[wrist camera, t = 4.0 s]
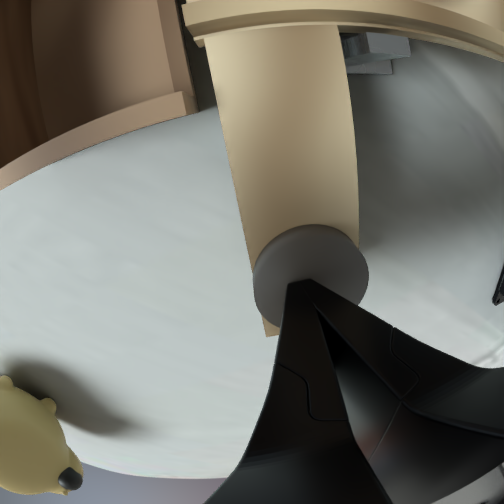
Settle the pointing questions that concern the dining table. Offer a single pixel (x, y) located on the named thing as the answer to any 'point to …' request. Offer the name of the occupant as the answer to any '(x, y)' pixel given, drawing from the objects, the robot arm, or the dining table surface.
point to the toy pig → (34, 445)
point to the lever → (309, 123)
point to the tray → (86, 76)
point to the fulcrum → (372, 52)
